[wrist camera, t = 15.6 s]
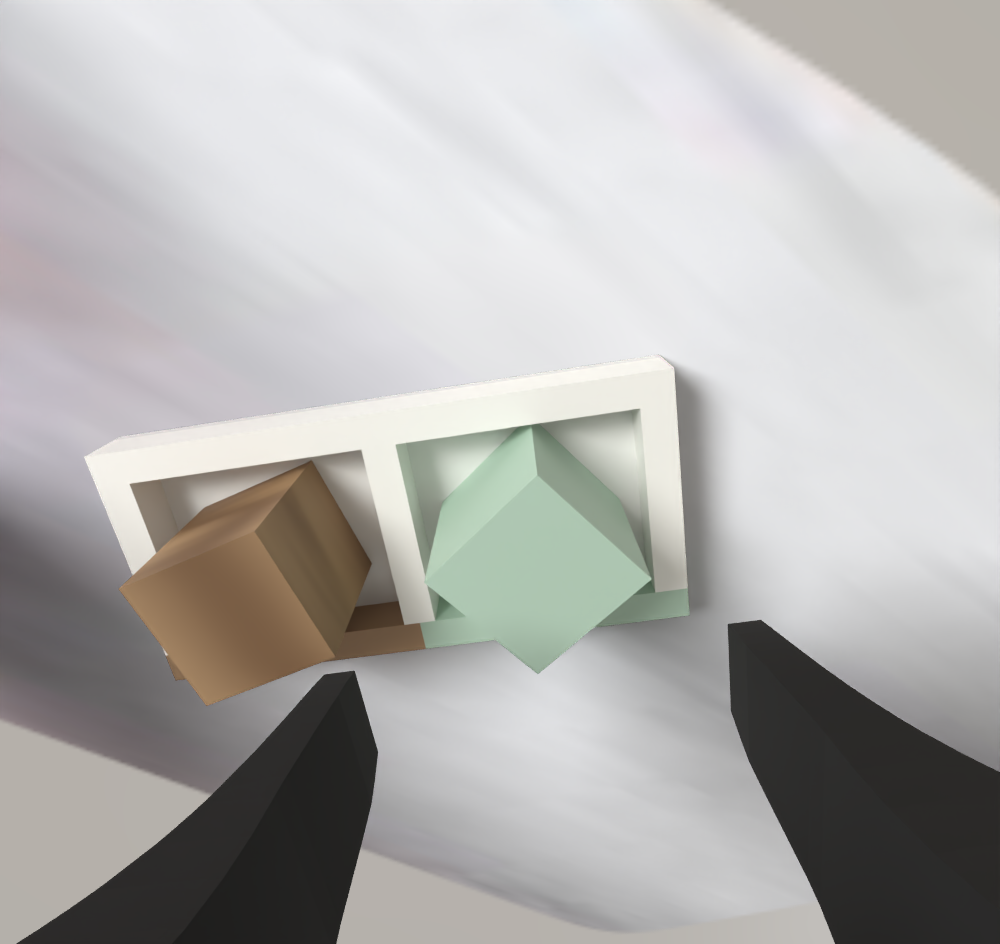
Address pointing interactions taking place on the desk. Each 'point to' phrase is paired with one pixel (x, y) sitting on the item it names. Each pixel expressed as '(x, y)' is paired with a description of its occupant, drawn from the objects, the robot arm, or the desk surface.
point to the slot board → (419, 482)
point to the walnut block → (254, 585)
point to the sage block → (534, 548)
